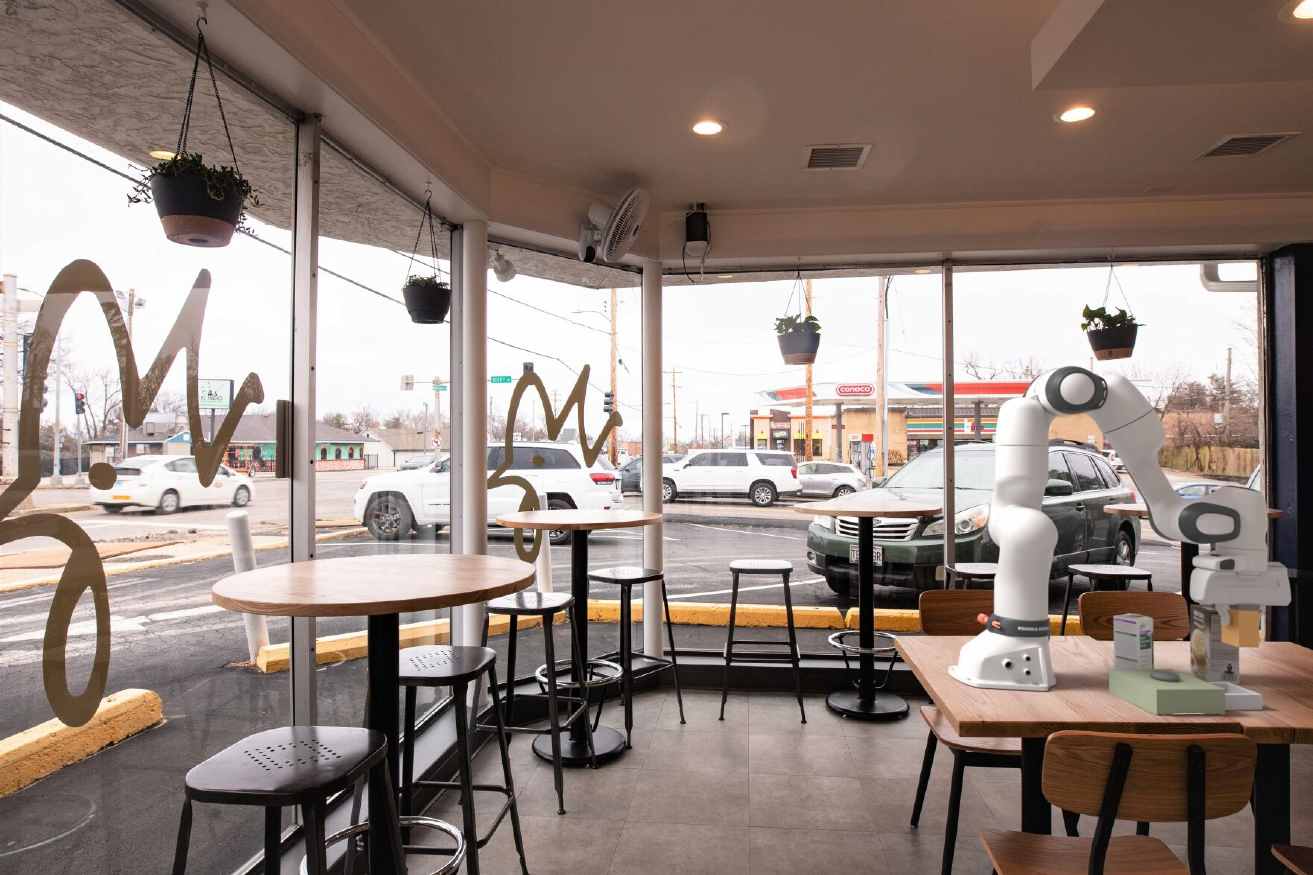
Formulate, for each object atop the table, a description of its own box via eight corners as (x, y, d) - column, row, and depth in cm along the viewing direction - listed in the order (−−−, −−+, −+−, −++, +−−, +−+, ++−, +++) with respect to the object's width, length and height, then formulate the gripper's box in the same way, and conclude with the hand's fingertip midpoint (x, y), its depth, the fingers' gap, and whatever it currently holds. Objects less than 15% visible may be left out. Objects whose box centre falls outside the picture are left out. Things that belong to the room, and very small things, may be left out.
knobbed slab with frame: (1156, 715, 145) (1156, 684, 145) (1109, 692, 159) (1109, 664, 159) (1274, 714, 147) (1274, 683, 147) (1217, 691, 161) (1217, 664, 161)
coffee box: (1188, 671, 176) (1188, 603, 177) (1219, 673, 175) (1218, 605, 175) (1209, 683, 167) (1208, 611, 168) (1241, 685, 166) (1241, 613, 166)
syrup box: (1140, 684, 165) (1139, 619, 165) (1113, 677, 170) (1113, 614, 171) (1154, 681, 168) (1154, 617, 168) (1128, 674, 173) (1127, 612, 173)
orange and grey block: (1238, 647, 158) (1239, 604, 158) (1221, 641, 162) (1221, 600, 163) (1259, 647, 158) (1259, 605, 158) (1241, 642, 163) (1241, 600, 163)
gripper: (1273, 560, 164) (1273, 622, 164) (1185, 557, 163) (1184, 621, 163) (1300, 564, 158) (1299, 629, 158) (1208, 562, 157) (1207, 627, 157)
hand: (1240, 625), depth 160 cm, fingers closed on orange and grey block, 4 cm apart
